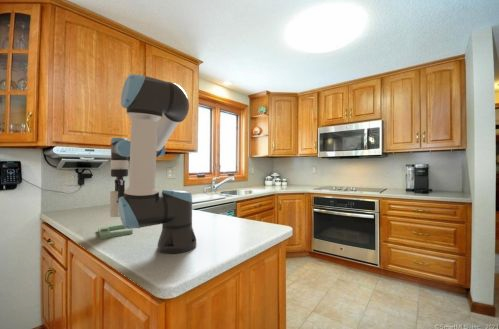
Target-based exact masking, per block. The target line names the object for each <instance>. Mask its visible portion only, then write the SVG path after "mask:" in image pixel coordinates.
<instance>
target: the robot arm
mask: <svg viewBox="0 0 499 329" xmlns="http://www.w3.org/2000/svg"><path fill="white" fill-rule="evenodd" d="M120 106H121V107H122V108H123V109H126V115H127V116H128V117H129V118H130V120H131V121H130V140H129V139H128V138H125V137H112V138H111V139H110V168H111V169H110V177H113V178H116V179H114V184H115V185H114V191H118V201H117V202H118V216H120V217H119V218H120V221H121V225H122V224H123V226H124V227H125V228H124V229H126V230H130V229H132V230H134V229H141V228H146V227H152V226H157V225H158V226H159V225H161V227H162V228H161V231H160V232H161V233H160V235H159V239H158V242H157V250H158V252H160V253H163V254H179V253H180V254H181V253H185V252H188V251H191V250H193V249H195V248H196V247H197V238H196V235H195V231H194V228H193V195H192V193H191V192H190V191H187V190H186V191H185V190H178V189H162V191H161V193H160V190H159V189H158V188H157V187H156V170H157V158H163V157H164V156H165V154H166V146H165V145H166V144H167V142H168V141H169V139H170V138H171V136H172V134H173V133H174V132H175V130H176V128H177V127H178V125H179V124H180V123H182V122H184V120H185V119H186V118H187V116H188V115H189V110H190V101H189V98H188V96H187V93H186V92H185V90H184V89H183V87H181V86H180V85H178V84H176V83H175V82H172V81H166V80H162V79H158V78H155V77H150V76H147V75H140V74H136V73H135V74H134V73H131V74H129V75H128V76H127V77H126V78H125V80H124V82H123V86H122V90H121V95H120ZM128 168H129V169H128ZM128 176H129V178H128V180H129V181H128V187H127V188H126V187H125V182H126V181H125V179H124V178H125V177H128ZM125 188H126V189H125Z"/></svg>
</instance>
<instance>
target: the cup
mask: <svg viewBox="0 0 499 329" xmlns="http://www.w3.org/2000/svg"><path fill="white" fill-rule="evenodd" d="M117 201H118V191H115V190H114V191H113V190H111V191H110V200H109V202H110V204H109V206H110V208H109V209H110V211H109V212H110V217H111V218H120V216H118V202H117Z"/></svg>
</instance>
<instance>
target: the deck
mask: <svg viewBox="0 0 499 329" xmlns="http://www.w3.org/2000/svg"><path fill="white" fill-rule="evenodd" d="M122 229H126V228H125V227H124V226H123V224H122V223H121V224H115V225H109V226H108V225H107V226H100V227H98V229H97V231H98V234H99V237H100V240H104V239H109V238H110V239H111V238H114V237H120V236H125V235H133V230H134V229H126V230H122ZM114 230H115V231H114ZM116 230H117V231H116ZM118 230H120V231H118ZM111 231H112V232H111Z"/></svg>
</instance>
